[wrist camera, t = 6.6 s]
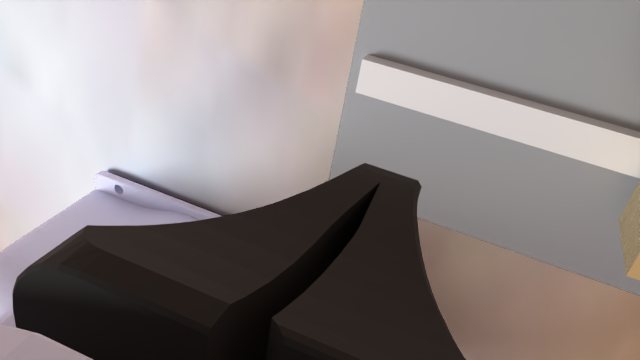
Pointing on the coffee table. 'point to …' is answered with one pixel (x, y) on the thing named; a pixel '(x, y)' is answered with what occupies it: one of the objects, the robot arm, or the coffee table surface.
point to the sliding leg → (631, 235)
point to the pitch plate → (505, 120)
